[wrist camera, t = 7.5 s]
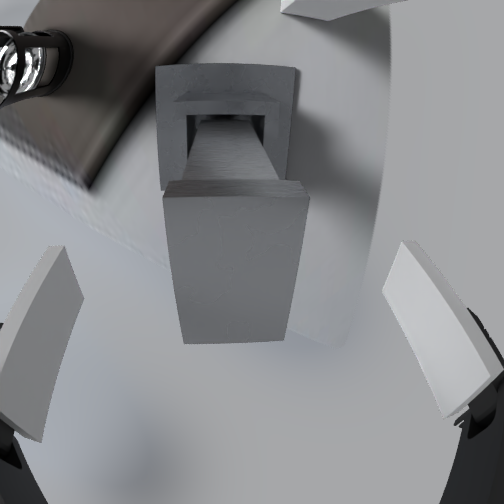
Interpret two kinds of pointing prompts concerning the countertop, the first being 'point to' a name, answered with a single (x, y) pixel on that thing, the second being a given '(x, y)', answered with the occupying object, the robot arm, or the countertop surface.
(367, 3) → the milk
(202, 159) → the column
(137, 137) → the countertop surface
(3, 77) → the french press
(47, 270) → the robot arm
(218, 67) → the base
